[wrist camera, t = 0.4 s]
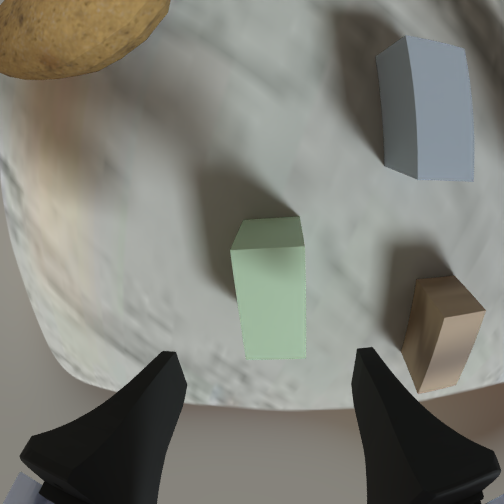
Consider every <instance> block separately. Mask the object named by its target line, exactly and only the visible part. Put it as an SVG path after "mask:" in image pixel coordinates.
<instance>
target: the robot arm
mask: <svg viewBox="0 0 504 504" xmlns="http://www.w3.org/2000/svg"><path fill="white" fill-rule="evenodd" d="M351 385H352V394H353V402H354V408H355V412H356V417H357V421H358V426H359V430H360V434H361V439H362V443H363V448H364V455H365V463H366V476H367V504H481V501H480V500H482V499H483V497H484V496H483V492H482V490H483V489H485V488H486V487H487V486H488V485H489V484H491V483H492V482H493V481H494V480H495V479H496V478H497V477H498V476H499V475H500V473H501V469H500V466H499V463H498V460H497V457H496V455H495V453H494V451H492V450H490V449H488V448H486V447H484V446H481V445H479V444H477V443H475V442H473V441H471V440H469V439H467V438H466V437H464V436H462V435H460V434H459V433H457V432H456V431H454V430H453V429H451V428H450V427H448V426H447V425H445V424H444V423H443V422H441V421H440V420H439V419H437V418H436V417H435V416H434V415H433V414H431V413H430V412H429V411H428V410H427V409H425V407H423V406H422V405H421V404H420V403H419V402H418V401H417V400H416V399H415V398H414V397H413V396H412V395H411V394H410V393H409V391H408V390H407V389H406V388H405V387H404V386H403V385H402V384H401V382H400V381H399V380H398V379H397V378H396V377H395V375H394V374H393V373H392V372H391V371H390V369H389V368H388V367H387V365H386V364H385V363H384V362H383V360H382V359H381V358H380V356H379V355H378V354H377V352H376V351H375V349H374V348H373V347H368V348H359V349H357V353H356V359H355V366H354V371H353V377H352V383H351ZM186 389H187V383H186V380H185V377H184V374H183V371H182V369H181V366H180V363H179V360H178V357H177V354H176V352H170V351H162V352H161V353H160V354H159V355H158V356H157V357H156V358H155V359H153V360H152V361H151V362H150V363H149V364H148V365H147V366H146V367H145V368H144V369H143V370H142V371H141V372H140V373H139V374H138V375H137V376H136V377H134V378H133V379H132V380H131V381H130V382H129V383H128V384H127V385H125V386H124V387H123V388H122V389H121V390H119V391H118V392H117V393H116V394H115V395H113V396H112V397H111V398H110V399H108V400H107V401H105V402H104V403H103V404H101V405H100V406H98V407H97V408H95V409H94V410H92V411H90V412H89V413H87V414H85V415H83V416H81V417H80V418H78V419H76V420H74V421H72V422H70V423H68V424H66V425H63V426H61V427H58V428H56V429H53V430H50V431H47V432H44V433H41V434H38V435H34V436H32V437H31V438H30V440H29V441H28V443H27V445H26V446H25V448H24V449H23V451H22V453H21V454H20V459H21V461H22V462H23V463H24V464H25V465H27V467H28V468H30V469H31V470H32V471H33V472H34V473H35V474H37V475H38V476H39V477H40V478H41V479H43V480H44V483H43V485H41V484H40V483H38V482H36V481H35V480H33V479H32V478H30V477H29V476H27V475H26V474H24V473H22V472H20V473H19V475H18V476H17V478H16V480H15V482H14V483H13V485H12V487H11V489H10V491H9V493H8V495H7V497H6V499H5V500H4V502H3V504H157V498H158V491H159V485H160V479H161V473H162V468H163V464H164V460H165V455H166V452H167V449H168V445H169V443H170V440H171V437H172V435H173V432H174V429H175V426H176V424H177V421H178V418H179V415H180V413H181V410H182V407H183V403H184V399H185V394H186ZM486 504H504V494H503V495H501V496H499V497H497V498H495V499H494V500H491V501H489V502H488V503H486Z"/></svg>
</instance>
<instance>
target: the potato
mask: <svg viewBox="0 0 504 504" xmlns="http://www.w3.org/2000/svg"><path fill="white" fill-rule="evenodd" d="M169 5H170V0H4V2H3V3H2V4H1V5H0V73H2V74H5V75H7V76H9V77H14V78H20V79H25V80H47V79H60V78H66V77H72V76H78V75H82V74H87V73H92V72H97V71H99V70H101V69H103V68H105V67H107V66H108V65H110V64H112V63H114V62H116V61H118V60H120V59H121V58H123V57H124V56H125V55H127V54H128V53H129V52H131V51H132V50H133V49H135V48H136V47H137V46H139V45H140V44H141V43H143V42H144V41H145V40H147V38H148V37H149V36H150V34H151V33H152V32H153V30H154V29H155V28H156V27H157V25H158V24H159V23H160V22H161V20H162V19H163V18H164V17H165V16H166V14H167V13H168V10H169Z"/></svg>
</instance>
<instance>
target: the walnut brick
mask: <svg viewBox="0 0 504 504" xmlns="http://www.w3.org/2000/svg"><path fill="white" fill-rule="evenodd" d="M485 312H486V310H485V309H484V308H483V306H482V305H481V304H480V303H479V302H478V301H477V300H476V298H475V297H474V296H473V295H472V294H471V293H470V292H469V291H468V290H467V289H466V287H465V286H464V285H463V284H462V283H461V282H460V281H459V280H458V279H457V278H456V277H455V276H445V277H435V278H425V279H416V285H415V291H414V297H413V302H412V307H411V312H410V317H409V321H408V326H407V330H406V335H405V339H404V343H403V347H402V351H401V353H402V355H403V358H404V360H405V362H406V365H407V367H408V370H409V372H410V375H411V377H412V380H413V382H414V385H415V388H416V390H417V393H418V394H421V393H425V392H430V391H434V390H438V389H443V388H447V387H451V386H454V385H456V384H457V382H458V380H459V378H460V375H461V373H462V371H463V369H464V367H465V364H466V362H467V360H468V357H469V355H470V353H471V350H472V348H473V345H474V343H475V340H476V337H477V335H478V332H479V329H480V326H481V324H482V321H483V318H484V315H485Z"/></svg>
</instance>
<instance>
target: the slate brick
mask: <svg viewBox="0 0 504 504" xmlns="http://www.w3.org/2000/svg"><path fill="white" fill-rule="evenodd" d="M376 64H377V71H378V79H379V88H380V97H381V108H382V121H383V137H384V166H385V167H388V168H391V169H393V170H396V171H398V172H401V173H403V174H405V175H408V176H410V177H413V178H415V179H417V180H446V181H468V182H473V181H474V122H473V107H472V96H471V87H470V79H469V72H468V66H467V60H466V54H465V49H464V48H461V47H457V46H453V45H450V44H446V43H441V42H437V41H433V40H428V39H423V38H418V37H412V36H406V35H405V36H404V37H402V38H401V39H400V40H398V41H397V42H395V43H394V44H392V45H391V46H390V47H388V48H387V49H386V50H384V51H383V52H381V53H380V54H379V55H377V56H376Z"/></svg>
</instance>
